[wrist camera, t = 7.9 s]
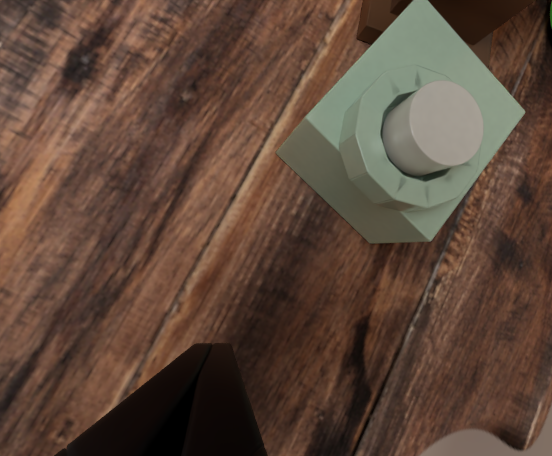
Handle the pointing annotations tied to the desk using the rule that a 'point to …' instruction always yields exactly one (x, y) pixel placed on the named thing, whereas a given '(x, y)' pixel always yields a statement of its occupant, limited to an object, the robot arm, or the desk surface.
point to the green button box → (369, 126)
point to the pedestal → (455, 10)
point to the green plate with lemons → (551, 14)
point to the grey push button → (433, 129)
